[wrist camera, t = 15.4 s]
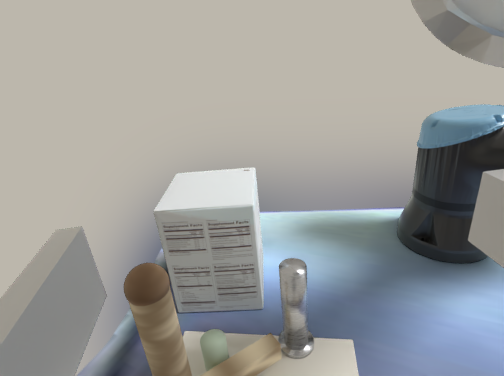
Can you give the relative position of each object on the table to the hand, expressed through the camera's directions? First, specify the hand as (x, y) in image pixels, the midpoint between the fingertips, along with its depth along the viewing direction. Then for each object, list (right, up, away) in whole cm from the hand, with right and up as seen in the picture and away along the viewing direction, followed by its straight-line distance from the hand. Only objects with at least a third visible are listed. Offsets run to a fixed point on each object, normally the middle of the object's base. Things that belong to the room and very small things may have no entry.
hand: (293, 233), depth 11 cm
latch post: (-6, -20, +29) cm, 35 cm away
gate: (-4, -21, +25) cm, 33 cm away
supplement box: (-6, -14, +43) cm, 46 cm away
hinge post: (+4, -18, +30) cm, 35 cm away
